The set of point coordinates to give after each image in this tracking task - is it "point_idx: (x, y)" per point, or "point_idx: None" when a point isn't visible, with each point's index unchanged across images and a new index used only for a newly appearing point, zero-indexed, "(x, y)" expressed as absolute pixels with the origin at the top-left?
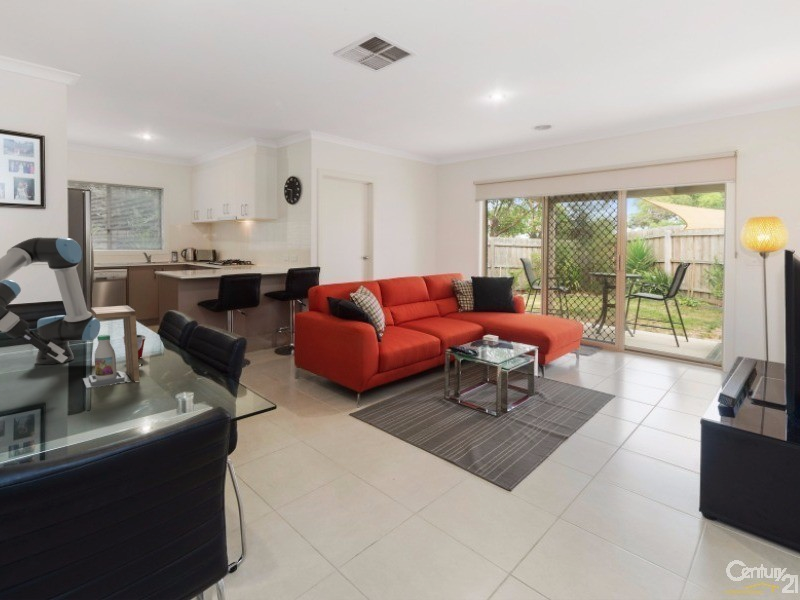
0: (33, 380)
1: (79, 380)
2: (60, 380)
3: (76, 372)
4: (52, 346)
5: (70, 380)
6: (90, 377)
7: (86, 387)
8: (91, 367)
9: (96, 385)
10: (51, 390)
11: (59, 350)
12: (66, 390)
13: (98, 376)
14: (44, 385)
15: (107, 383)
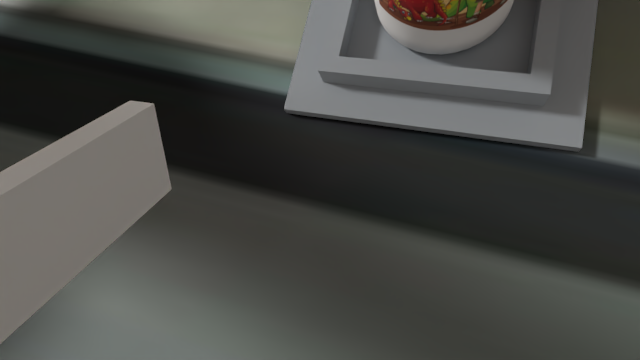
0: (42, 350)
1: (286, 134)
2: (185, 223)
3: (82, 104)
4: (16, 245)
5: (238, 176)
6: (382, 71)
7: (566, 146)
8: (48, 17)
9: (567, 81)
10: (406, 346)
11: (118, 165)
12: (496, 267)
13: (481, 24)
14: (225, 338)
15: (567, 14)
